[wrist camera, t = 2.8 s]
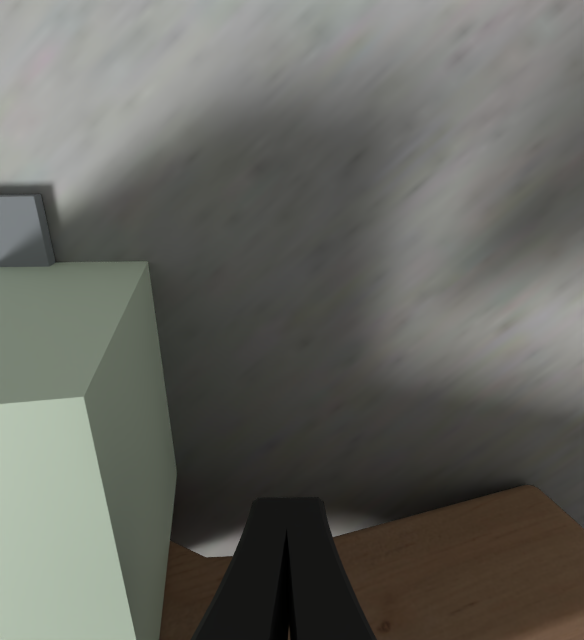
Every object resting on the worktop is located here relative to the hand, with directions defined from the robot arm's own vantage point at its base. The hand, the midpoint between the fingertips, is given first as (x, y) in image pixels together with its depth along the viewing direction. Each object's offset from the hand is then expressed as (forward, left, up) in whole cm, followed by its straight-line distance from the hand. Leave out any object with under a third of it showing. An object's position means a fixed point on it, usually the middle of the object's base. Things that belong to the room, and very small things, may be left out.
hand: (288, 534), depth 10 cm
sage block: (+7, 0, -6) cm, 9 cm away
